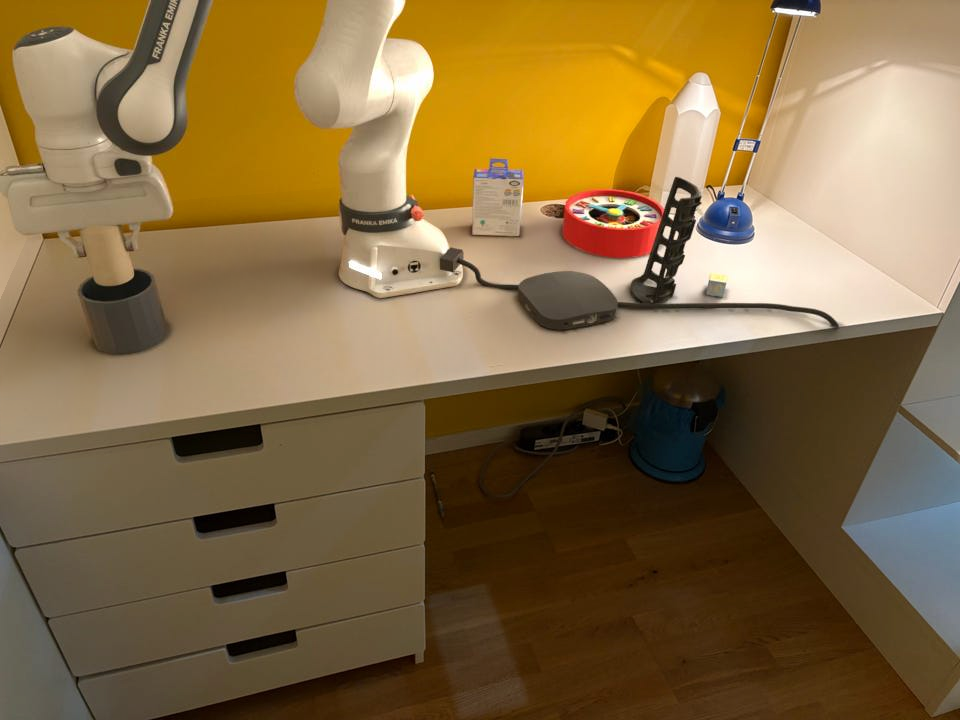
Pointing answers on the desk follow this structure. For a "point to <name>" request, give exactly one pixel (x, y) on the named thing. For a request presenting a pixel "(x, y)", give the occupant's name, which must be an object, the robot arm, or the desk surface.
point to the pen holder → (124, 313)
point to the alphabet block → (716, 285)
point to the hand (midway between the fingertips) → (107, 252)
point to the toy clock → (611, 222)
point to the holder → (669, 245)
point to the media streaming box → (567, 299)
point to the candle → (107, 254)
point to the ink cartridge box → (497, 200)
